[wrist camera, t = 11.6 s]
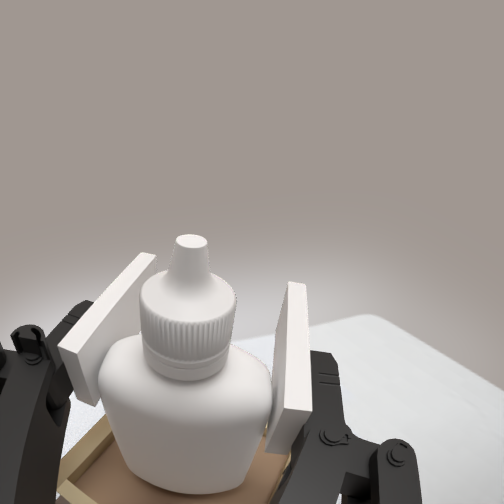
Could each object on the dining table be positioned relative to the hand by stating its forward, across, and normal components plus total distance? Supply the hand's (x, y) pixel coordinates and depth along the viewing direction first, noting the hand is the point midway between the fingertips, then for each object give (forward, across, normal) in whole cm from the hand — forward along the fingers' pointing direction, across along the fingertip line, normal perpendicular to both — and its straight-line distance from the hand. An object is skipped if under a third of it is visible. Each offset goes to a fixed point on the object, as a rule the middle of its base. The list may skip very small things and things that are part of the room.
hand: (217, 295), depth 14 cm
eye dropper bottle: (-5, 0, -7) cm, 9 cm away
